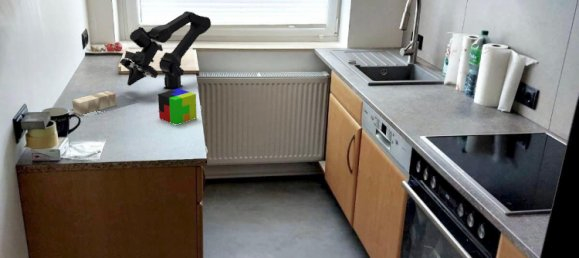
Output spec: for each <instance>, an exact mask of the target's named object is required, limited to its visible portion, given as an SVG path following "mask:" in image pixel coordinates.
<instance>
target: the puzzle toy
mask: <svg viewBox="0 0 579 258" xmlns="http://www.w3.org/2000/svg"><path fill="white" fill-rule="evenodd" d="M157 100H158V113H159V114H158V115H159V116H158V117H159V118H160V119H159V120H162V119H163V120H162V121H164V120H166V121H165V122H167V121H168V122H167V123H169V122H171V123H170V124H172V123H174V124H179V123H182V122H185V123H187V122H186V121H188V122H190V121H189V120H191V121H193V120H195V119H194V118H196V119H197V116H198V115H197V94H196V93H193V92H191V91H188V90H184V89H182V88H178V89H174V90H173V89H170V90H168V91H164V92H160V93H158V94H157ZM192 119H193V120H192ZM174 124H173V125H174ZM182 124H183V123H182ZM179 125H180V124H179Z"/></svg>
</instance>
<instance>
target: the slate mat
mask: <svg viewBox="0 0 579 258" xmlns="http://www.w3.org/2000/svg"><path fill="white" fill-rule="evenodd" d="M137 103H139V101H138V100H136V99H132V98H130V97H126V96H123V95H119V96H116V104H117V105H115V106H112V107H108V108H105V109H102V110H98V111H101V112H103V113H108V112H110V111H114V110H116V109H120V108H124V107H127V106H131V105H135V104H137ZM70 111H71V112H74V111H73V108H72V109H70ZM104 111H105V112H104ZM107 111H108V112H107ZM96 112H97V111H96ZM97 113H98V112H97Z"/></svg>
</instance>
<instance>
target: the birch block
mask: <svg viewBox="0 0 579 258" xmlns="http://www.w3.org/2000/svg"><path fill="white" fill-rule="evenodd" d="M116 97H117V94H116V92H112V91H110V90H106V91H102V92H97V93H93V94H91V95H87V96H83V97H78V98H74V99H72V109H73V111H72V112H73V113H75V114H77V115H80V116H84V115H83V114H87V113H90V112H94V111H98V110H102V109H105V108H108V107H112V106H115V105H117V104H116Z"/></svg>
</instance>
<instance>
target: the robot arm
mask: <svg viewBox="0 0 579 258" xmlns="http://www.w3.org/2000/svg"><path fill="white" fill-rule="evenodd" d="M188 24H189V30H188V31H186V33H185V35H184V36H183V38H182V39H181V40H180V42H179V43H178V44H177V45H176V47H174V49H173V50H172V51H171V52H165V53H163V55H162V56H161V58H159V59H160V60H159V62H158V64H159V65H158V66H159V69H160V71H161V73H162V74H164V78H163V79H164V80H163V81H164V82H163V83H164V86H163V89H165V90H166V89H167V90H174V89H178V88H179V89H182V88H183V87H184V85H183V84H182V77H181V76H183V75H184V71H185V70H184V69H183V68H182V67H181V65H182V59H183V57H184V56H185V55H186V53H187V52H188V51H189V50H190V48H191V46H192V45H193V44H194V42H196V40H197V39H198V37H199V36H201V35H203V34H204V33H207V31H208V30H209V29H210V28H211V26H212V21H211V19H210V18H209V17H208V16H205V15H204V16H203V15H199V14H198V13H197V14H196V13H194V12H193V11H188V10H185V11H184V12H183V13H182V14H180V15H179V16H177V17H175V18H174V19H172V20H171V21H169V22H167V23H165V24H162V25H157V26H155V27H152V28H151V29H150V30H149V31H146V30H145V28H143V27H142V26H139V27H138V28H136V29H134V30H133V31H132V32H131V33H130V35H129V39H130V41H132V42H133V43H134V44H135V45H136V46H137V47H139V48H140V49H141V51H139V50H138V51H135V52H132V51H129V50H126V51H125V53H124V57H123V58H121V59H120V61H119V64H120V65H121V66H122V67H124V68H125V69H127V70H128V72H129V73H128V79H127V82H126V84H127V85H128V86H129V87H130V86H132V85H134V84H135V83H137V82H138V81H140V80H142V79H144V78H146V77H147V74H149V75H150V77H151V78H154V79H156V78H157V77H158V75H159V72H158V70H157V69H155V68H154V67H153V66H152V65H150V64H151V63H154V62H155V60H154V58H155V56H156V54H157V53H158V51H159V52H163V51H164V49H163V44H165V43H167V42H168V40H170V39H171V37H172V35H173V34H174V33H175V32H177V31H179V30H180V29H182V28H184V27H185V26H186V25H188ZM159 43H162V44H159Z"/></svg>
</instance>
